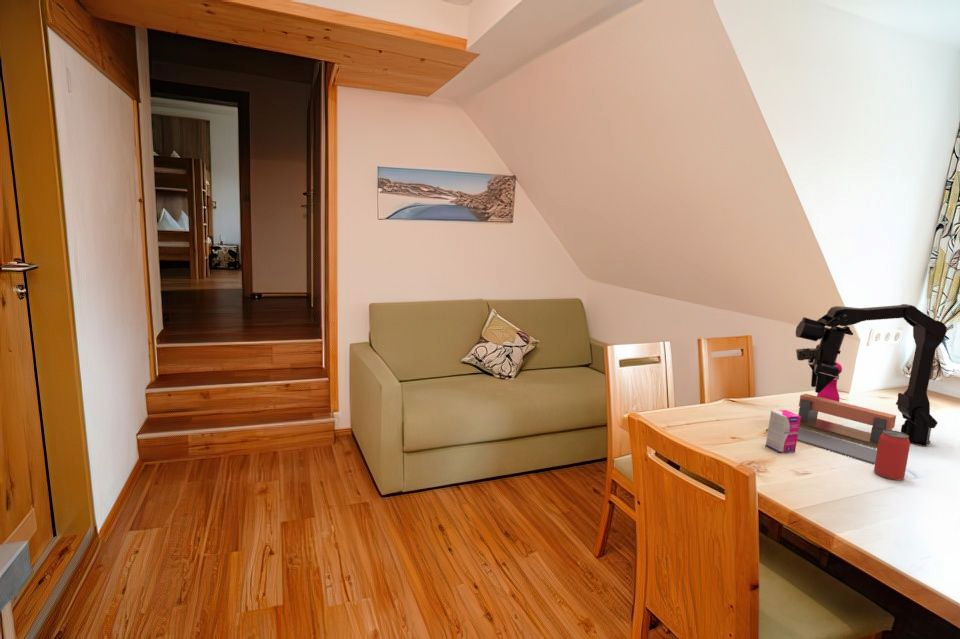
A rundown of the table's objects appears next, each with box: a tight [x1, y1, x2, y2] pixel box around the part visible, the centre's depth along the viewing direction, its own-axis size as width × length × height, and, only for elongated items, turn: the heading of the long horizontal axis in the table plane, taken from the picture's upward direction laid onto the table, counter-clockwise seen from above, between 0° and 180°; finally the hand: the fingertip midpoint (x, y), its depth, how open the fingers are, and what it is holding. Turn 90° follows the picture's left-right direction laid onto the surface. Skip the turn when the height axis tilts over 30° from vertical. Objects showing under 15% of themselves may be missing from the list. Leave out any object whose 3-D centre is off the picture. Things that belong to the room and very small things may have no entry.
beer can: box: [873, 429, 911, 481], centre depth 142 cm, size 7×7×12 cm
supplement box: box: [765, 409, 801, 454], centre depth 158 cm, size 6×6×12 cm
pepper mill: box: [816, 361, 843, 402], centre depth 199 cm, size 7×7×20 cm
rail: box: [798, 393, 897, 430], centre depth 172 cm, size 26×4×4 cm, turn 37°
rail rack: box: [797, 399, 893, 449], centre depth 173 cm, size 28×10×9 cm, turn 37°
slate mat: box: [765, 427, 877, 465], centre depth 165 cm, size 30×12×1 cm, turn 37°
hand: (814, 389), depth 174 cm, fingers open, 9 cm apart
